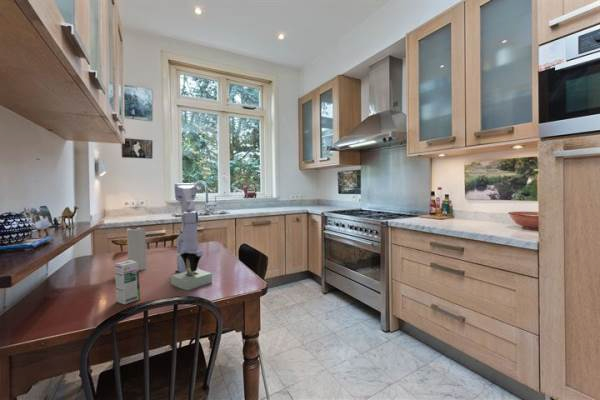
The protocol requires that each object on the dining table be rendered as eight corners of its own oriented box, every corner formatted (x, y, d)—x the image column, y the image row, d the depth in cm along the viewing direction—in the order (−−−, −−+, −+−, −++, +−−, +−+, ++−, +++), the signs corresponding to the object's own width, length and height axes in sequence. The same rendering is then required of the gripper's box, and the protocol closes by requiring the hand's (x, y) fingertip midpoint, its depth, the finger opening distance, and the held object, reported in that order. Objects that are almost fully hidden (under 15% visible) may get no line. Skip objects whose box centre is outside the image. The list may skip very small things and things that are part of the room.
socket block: (171, 284, 118) (171, 275, 118) (196, 276, 128) (196, 268, 127) (186, 290, 111) (186, 280, 111) (212, 282, 120) (211, 273, 120)
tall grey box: (125, 271, 137) (123, 229, 136) (135, 267, 143) (133, 227, 142) (137, 272, 136) (135, 229, 134) (147, 268, 141) (145, 227, 140)
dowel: (185, 276, 119) (184, 258, 118) (193, 274, 121) (192, 256, 121) (188, 278, 117) (188, 259, 116) (196, 276, 119) (195, 258, 118)
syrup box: (124, 305, 98) (122, 265, 97) (116, 301, 101) (114, 262, 100) (140, 299, 103) (138, 261, 102) (132, 296, 106) (130, 259, 105)
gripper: (172, 238, 119) (173, 269, 120) (191, 242, 111) (192, 275, 111) (187, 236, 125) (188, 265, 126) (206, 239, 116) (207, 271, 117)
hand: (191, 270), depth 119 cm, fingers closed on dowel, 3 cm apart
